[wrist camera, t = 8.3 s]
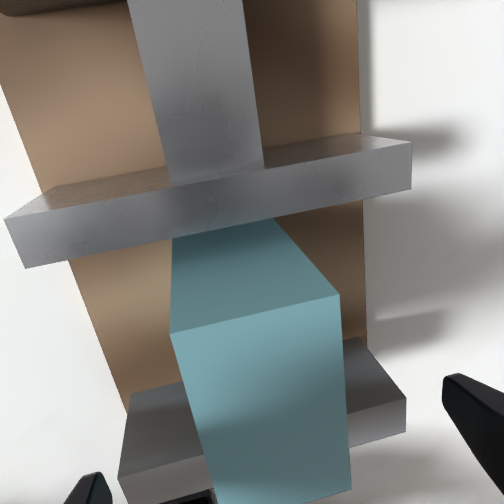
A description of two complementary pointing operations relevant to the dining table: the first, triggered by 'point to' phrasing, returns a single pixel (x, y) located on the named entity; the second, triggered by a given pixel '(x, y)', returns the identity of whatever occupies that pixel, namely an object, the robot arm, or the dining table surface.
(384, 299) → the dining table surface
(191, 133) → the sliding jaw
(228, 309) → the workpiece block
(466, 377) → the robot arm
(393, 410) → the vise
